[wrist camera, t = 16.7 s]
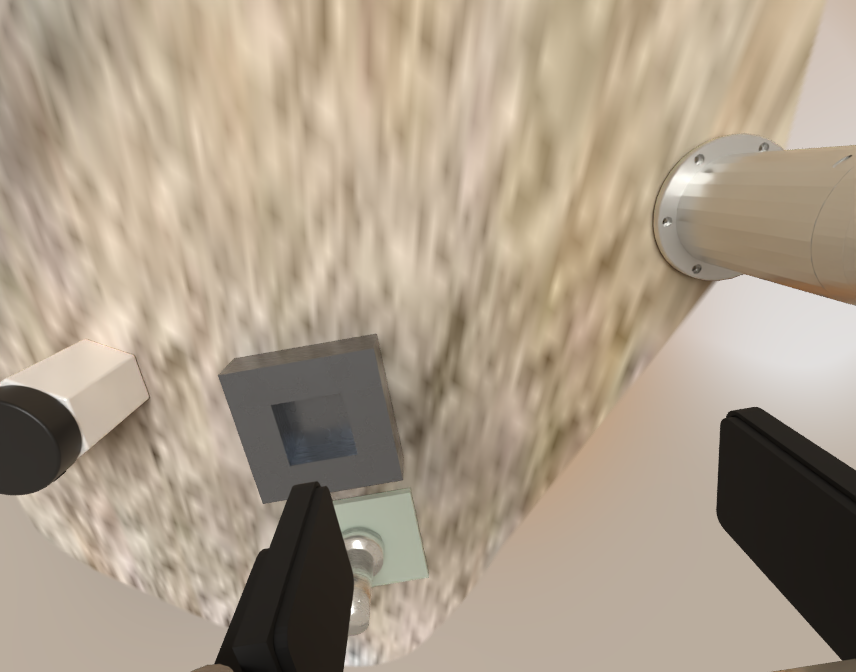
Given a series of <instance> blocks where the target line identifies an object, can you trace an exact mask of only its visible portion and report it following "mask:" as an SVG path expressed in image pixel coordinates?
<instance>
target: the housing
mask: <svg viewBox="0 0 856 672" xmlns="http://www.w3.org/2000/svg"><path fill="white" fill-rule="evenodd" d="M218 376H219V379H220V382H221V385H222V388H223V391H224V394H225V397H226V399H227V402H228V405H229V408H230V411H231V414H232V417H233V419H234V422H235V425H236V428H237V431H238V434H239V437H240V439H241V442H242V445H243V448H244V451H245V454H246V457H247V459H248V462H249V465H250V468H251V471H252V474H253V477H254V480H255V482H256V485H257V488H258V491H259V494H260V497H261V500H262V502H263V504H265V503H271V502H277V501H282V500H287V499H288V497H289V494H290V491H291V489H292V487H293V486H294V485H297V484H303V483H309V482H315V481H318V482H319V483H320V485H321V487H323V486H327V487H328V488H329V491H330V492H336V491H342V490H348V489H353V488H359V487H365V486H371V485H377V484H383V483H389V482H395V481H401V480H403V453H402V448H401V443H400V439H399V434H398V430H397V425H396V420H395V416H394V411H393V407H392V402H391V397H390V393H389V388H388V384H387V379H386V375H385V370H384V365H383V361H382V356H381V352H380V347H379V342H378V338H377V334H373V335H367V336H361V337H355V338H350V339H344V340H338V341H332V342H327V343H321V344H315V345H309V346H304V347H298V348H292V349H286V350H281V351H275V352H269V353H263V354H258V355H252V356H246V357H240V358H235V359H233V360H232V361H231V362H230V363H229V365H228V366H227V367H226V368H225V369H224V370H223V371H222V372H221V373H220V374H219V375H218Z"/></svg>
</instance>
